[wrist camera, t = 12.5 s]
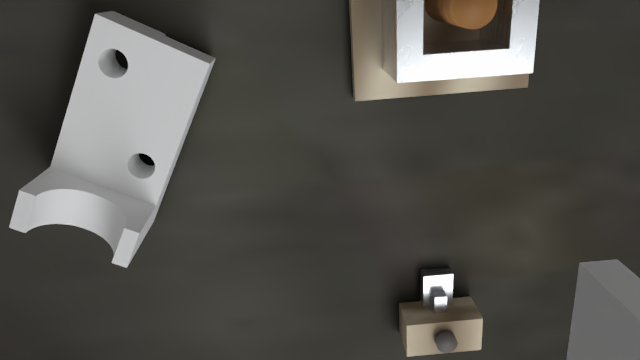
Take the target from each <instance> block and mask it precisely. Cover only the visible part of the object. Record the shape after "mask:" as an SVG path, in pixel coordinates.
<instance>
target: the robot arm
mask: <svg viewBox="0 0 640 360" xmlns="http://www.w3.org/2000/svg"><path fill="white" fill-rule="evenodd" d="M567 360H640V278H639V277H638V276H636V275H635V274H634V273H633V272H632V271H630V270H629V269H628V268H627V267H626V266H624V265H623V264H622V263H621V262H620V261H619V260H617V259H616V260H605V261H594V262H583V263H580V264H579V272H578V279H577V286H576V294H575V301H574V309H573V316H572V323H571V331H570V338H569V345H568V353H567Z"/></svg>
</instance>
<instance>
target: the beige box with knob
mask: <svg viewBox="0 0 640 360" xmlns="http://www.w3.org/2000/svg"><path fill="white" fill-rule="evenodd" d="M482 326H483V318H482V316H481V314H480V313H479V311H478V309H477V307H476V306H475V304H474V302H473V300H472V299H471V297H459V298H453V303H452V306H447V312H444V313H434V311H433V309H432V307H431V308H423V306H422V304H421V301H415V302H404V303H399V333H400V336H401V340H402V343H403V346H404V349H405V352H406V356H407V357H409V356H419V355H430V354H440V353H451V352H462V351H472V350H481V343H482Z"/></svg>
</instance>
